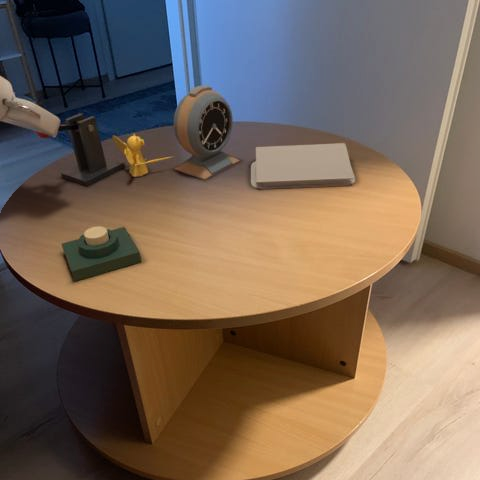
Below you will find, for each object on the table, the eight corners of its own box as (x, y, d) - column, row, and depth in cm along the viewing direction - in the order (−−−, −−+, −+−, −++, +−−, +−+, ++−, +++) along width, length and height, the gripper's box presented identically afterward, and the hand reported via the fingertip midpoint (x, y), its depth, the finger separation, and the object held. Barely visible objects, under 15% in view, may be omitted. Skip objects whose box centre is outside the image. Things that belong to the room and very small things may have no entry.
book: (251, 160, 121) (250, 144, 119) (347, 156, 120) (348, 140, 117) (250, 189, 110) (250, 172, 107) (357, 185, 108) (359, 168, 106)
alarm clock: (201, 181, 114) (192, 100, 102) (171, 171, 119) (160, 92, 107) (242, 159, 122) (238, 81, 110) (213, 150, 127) (206, 75, 115)
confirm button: (89, 249, 88) (86, 240, 87) (84, 238, 91) (81, 230, 89) (111, 242, 89) (109, 234, 88) (106, 232, 92) (103, 224, 91)
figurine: (181, 173, 118) (176, 136, 112) (131, 185, 114) (123, 147, 108) (165, 155, 126) (159, 120, 120) (118, 166, 123) (110, 130, 117)
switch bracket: (87, 186, 115) (72, 130, 107) (62, 177, 119) (45, 123, 111) (125, 167, 122) (113, 112, 114) (100, 159, 126) (87, 106, 118)
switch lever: (42, 140, 105) (40, 121, 103) (31, 137, 107) (30, 119, 105) (92, 135, 115) (92, 118, 113) (82, 132, 116) (81, 116, 115)
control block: (75, 281, 87) (68, 262, 84) (64, 253, 94) (58, 234, 91) (141, 261, 90) (137, 242, 88) (126, 236, 97) (122, 218, 95)
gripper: (29, 88, 90) (85, 126, 102) (-34, 74, 100) (24, 110, 112) (16, 122, 90) (73, 155, 102) (-46, 104, 100) (14, 136, 112)
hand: (47, 131), depth 107 cm, fingers closed on switch lever, 3 cm apart
